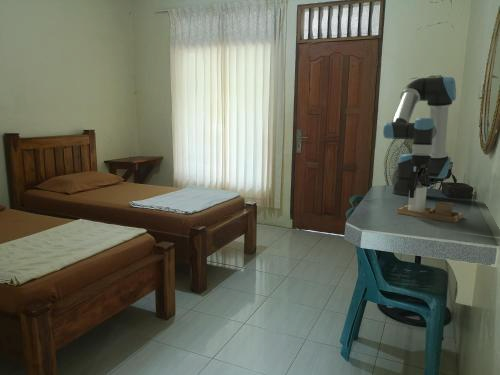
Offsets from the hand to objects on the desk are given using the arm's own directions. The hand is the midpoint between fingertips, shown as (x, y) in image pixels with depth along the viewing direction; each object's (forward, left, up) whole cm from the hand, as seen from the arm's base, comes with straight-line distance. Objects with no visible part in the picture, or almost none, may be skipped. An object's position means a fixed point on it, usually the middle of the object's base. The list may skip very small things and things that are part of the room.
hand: (417, 203), depth 169 cm
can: (0, 0, -5) cm, 5 cm away
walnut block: (0, +11, -5) cm, 12 cm away
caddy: (0, +6, -5) cm, 8 cm away
